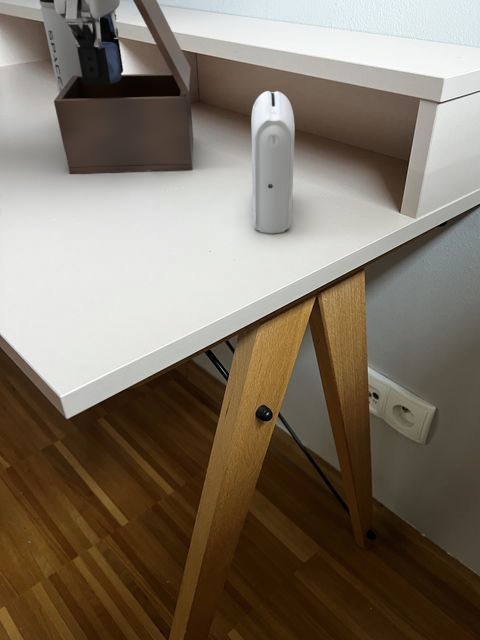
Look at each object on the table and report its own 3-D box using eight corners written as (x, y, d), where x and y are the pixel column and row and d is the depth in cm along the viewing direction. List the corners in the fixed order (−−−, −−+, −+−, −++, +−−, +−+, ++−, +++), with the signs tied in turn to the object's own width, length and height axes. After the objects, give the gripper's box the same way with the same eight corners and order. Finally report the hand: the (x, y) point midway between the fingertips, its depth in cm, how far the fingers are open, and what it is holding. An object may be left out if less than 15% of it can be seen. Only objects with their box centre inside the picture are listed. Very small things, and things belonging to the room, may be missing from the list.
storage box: (69, 173, 71) (53, 100, 66) (85, 141, 81) (72, 75, 75) (192, 170, 72) (186, 97, 67) (193, 138, 82) (188, 73, 76)
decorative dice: (120, 83, 69) (115, 47, 67) (87, 84, 69) (80, 48, 66) (122, 76, 72) (117, 41, 70) (90, 77, 72) (84, 42, 69)
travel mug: (106, 118, 90) (81, -32, 77) (108, 130, 85) (82, -28, 72) (66, 121, 88) (34, -31, 76) (66, 133, 83) (31, -27, 71)
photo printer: (293, 234, 58) (297, 109, 50) (251, 234, 58) (250, 109, 50) (289, 194, 66) (292, 81, 58) (252, 194, 66) (251, 81, 58)
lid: (101, -59, 57) (150, -90, 56) (116, -64, 66) (158, -91, 65) (183, 95, 66) (226, 71, 65) (185, 70, 76) (223, 50, 75)
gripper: (68, -107, 66) (96, 63, 77) (3, -110, 53) (49, 95, 64) (130, -107, 65) (150, 64, 77) (80, -110, 52) (113, 97, 63)
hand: (104, 77), depth 70 cm, fingers closed on decorative dice, 4 cm apart
